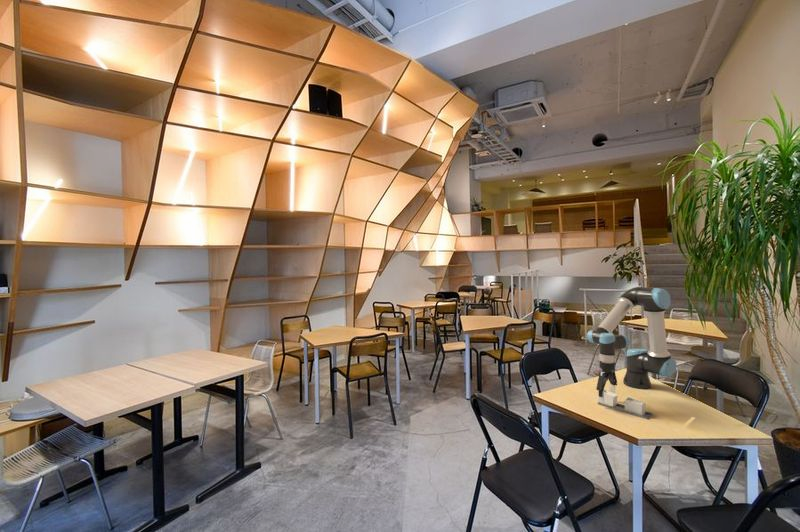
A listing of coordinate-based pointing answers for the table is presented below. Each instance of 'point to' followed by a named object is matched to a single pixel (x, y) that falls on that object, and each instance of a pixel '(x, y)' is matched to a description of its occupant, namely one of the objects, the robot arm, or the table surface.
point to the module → (610, 398)
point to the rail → (622, 409)
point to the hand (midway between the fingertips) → (606, 399)
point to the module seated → (635, 406)
